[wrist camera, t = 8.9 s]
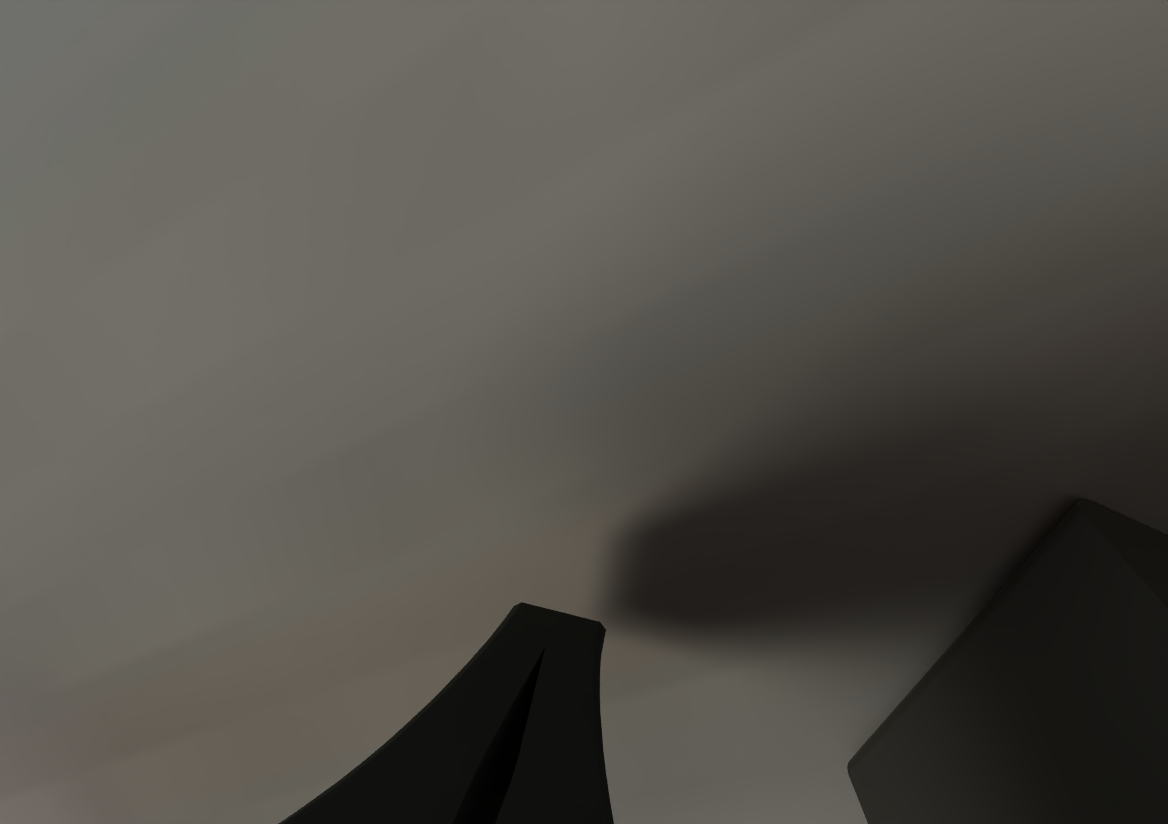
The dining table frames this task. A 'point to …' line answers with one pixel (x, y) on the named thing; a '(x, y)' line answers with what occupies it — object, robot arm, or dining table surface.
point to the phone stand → (1041, 695)
